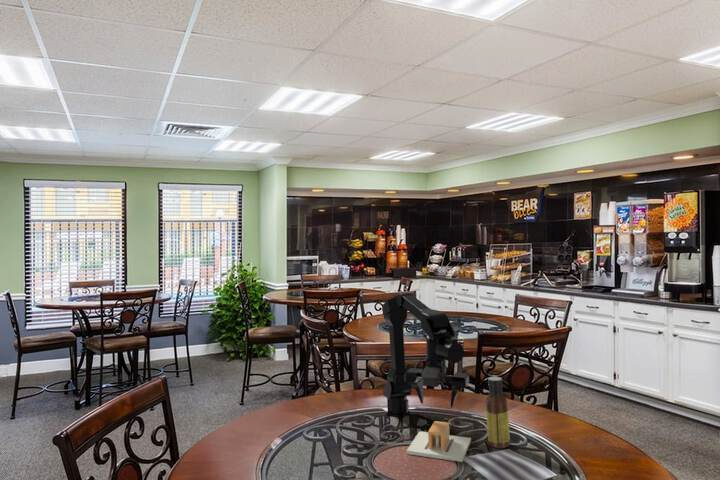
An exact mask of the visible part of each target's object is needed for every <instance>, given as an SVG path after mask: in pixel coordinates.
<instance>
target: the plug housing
mask: <svg viewBox="0 0 720 480" xmlns="http://www.w3.org/2000/svg"><path fill="white" fill-rule="evenodd" d="M427 432H428V441H429V449H432V447H433V446H434V444H435V442H436V436H435V435H438V436H441V451H444V450H445V448H446V446H447V444H448V442H449V440H450V422H445V421H436V420H434V422H433V423H432V425H431V427H430V428H429V429H428V431H427Z"/></svg>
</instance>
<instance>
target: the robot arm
mask: <svg viewBox="0 0 720 480" xmlns="http://www.w3.org/2000/svg"><path fill="white" fill-rule="evenodd" d="M381 312H382V315H383V319H384V321H385V322H386V324H387V325H388V331H389V332H388V333H389V349H390V369H389V371H388V373H387V375H386V383H385V385H384V387H383V388H382V395H383V397H385V398H386V399H387V401H386V402H387V403H386V404H387V405H386V406H387V407H386V408H387V412H386V413H385V415H386V416H391V417H392V416H393V417H402V418H404V417H405V416H406V414H407V413H408V412H409V411H410V410H409V408H410V407H409V399H408V397H407V396H411V395H412V389H413V388H414V390H415V391H416V393H417V397H418V399H419V402H420V404H421V405H423V404H424V386H425V387H428V386H429V387H433V388H437V387H439V386H440V383H446V382H448V383H451V384H452V386H451V388H450V389H451V395H450V408H453V407H454V404H455V402H456V398H457V396H458V393H459V391H461V390H463V389H465V388H467V386H468V384H470V383H469V382H470V375H469V374H468V373H466V372H458V371H457V372H454V374H453V375H451V374H450V375H449V374H448V373H447V362H450V363H452V364H457V363H460V362H461V361H462V360H463V358H464V356H465V350H464V348H463V345H462V344H461V343H459V340H458V338H456V334H455V330H454V328H453V326H452V324H451V321H450V319H449V317H448V315H447V314H446V313H445V312H443V311H442V310H441V311H440V310H437V309H432V308H430V307H429V306H427V305H426V304H425V303H424V302H422V301H421V300H419V299H418V298H417V297H416V296H414V294H413V293H412V292H402V293H399V294H397V295H396V296H394V297H391V298H390V299H388V300H385V301H384V303H383V304H382V307H381ZM408 312H409V313H410V314H412V316H414V317H415V318H416V319H417V320H418V321H419V322H420V323H419V325H420V327H421V328H422V330H423V331H424V333H423V334H422V337H423V338H424V339H425V340H426V341H425V344H426V347H425V348H426V350H425V351H426V359H425V366H424V369H423V370H422V369H421V368H416V367H415V368H414V367H410V368H409V369H407V367H406V353H405V337H404V325H405V323H406V320H407V319H408ZM446 361H447V362H446Z"/></svg>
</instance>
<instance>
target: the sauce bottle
mask: <svg viewBox="0 0 720 480" xmlns="http://www.w3.org/2000/svg"><path fill="white" fill-rule="evenodd" d="M487 384H488V389H489V390H488V395H487V397H486V400H485V405H486V407H485V408H486V409H485V410H486V411H485V413H486V424H487V425H486V427H487V439H488V444H489V446H491V447H492V448H495V449H496V448H497V449H506V448H508V447H509V446H510V444H511V441H510V440H511V436H510V422H509V421H510V420H509V409H508V401H507V399H506V397H505V395H504V393H503V378H502V377H499V376H490V377H487Z"/></svg>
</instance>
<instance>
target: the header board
mask: <svg viewBox="0 0 720 480" xmlns="http://www.w3.org/2000/svg"><path fill="white" fill-rule="evenodd" d="M435 436H436V442H435V444H434V446H433V447H432V449H429V441H428V431H419V432H417V434H416V436H415V437H414V439H413V440H412V442H411V443H410V445H409V446H408V448H407V449H406V454H407V455H411V456H417V457H419V456H420V457H424V458H426V457H427V458H431V459H437V460H438V459H440V460H445V461H453V462H459V463H463V461H464V459H465V457H466V454H467V452H468V450H469V447H470V445H471V443H472V438H471V437H468V436H460V435H459V436H457V435H452V434H451V435H450V440H449V442H448V444H447V446H446V448H445V450H444V451H441V436H438V435H435Z"/></svg>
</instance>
